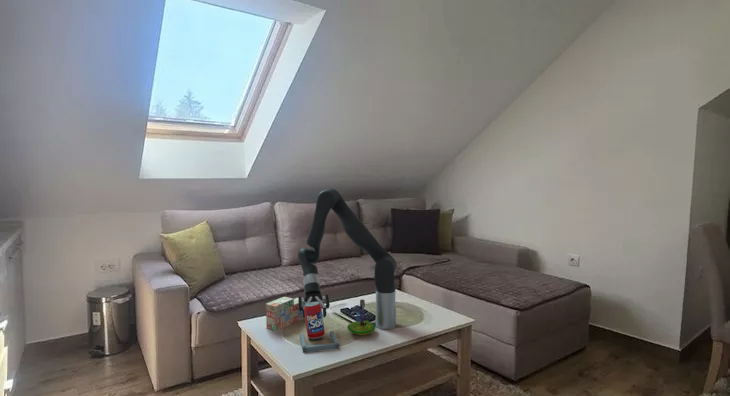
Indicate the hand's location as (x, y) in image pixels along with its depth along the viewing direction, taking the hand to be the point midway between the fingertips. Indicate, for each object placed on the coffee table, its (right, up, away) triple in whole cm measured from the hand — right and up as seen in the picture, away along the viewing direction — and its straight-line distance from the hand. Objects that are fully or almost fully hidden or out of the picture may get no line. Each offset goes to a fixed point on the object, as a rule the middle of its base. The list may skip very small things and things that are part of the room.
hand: (315, 317), depth 198 cm
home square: (+2, -9, -8) cm, 12 cm away
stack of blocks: (-15, -7, +14) cm, 22 cm away
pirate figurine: (+21, -8, +2) cm, 22 cm away
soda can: (+1, -8, -4) cm, 9 cm away
